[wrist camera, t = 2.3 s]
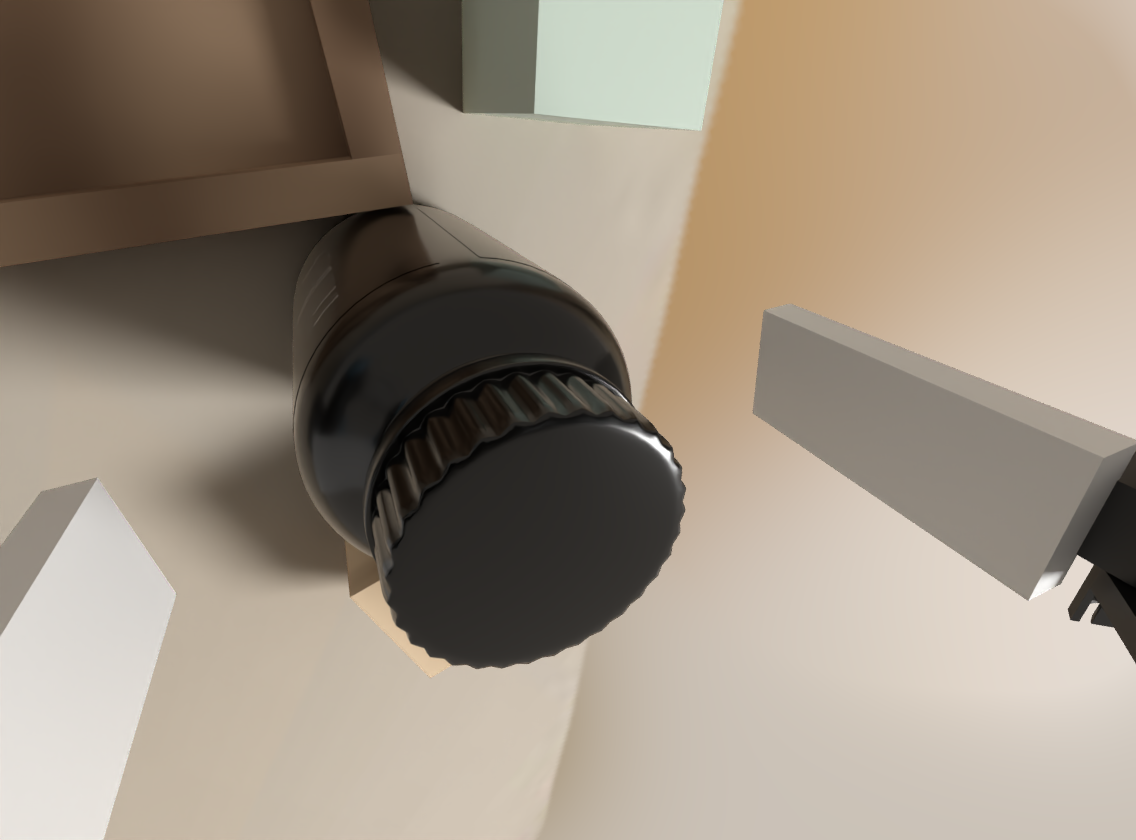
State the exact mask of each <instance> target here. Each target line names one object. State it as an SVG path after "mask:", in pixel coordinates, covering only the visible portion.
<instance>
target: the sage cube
mask: <svg viewBox="0 0 1136 840" xmlns="http://www.w3.org/2000/svg"><path fill="white" fill-rule="evenodd" d="M723 1H724V0H462V79H463V113H469V114H479V115H489V116H499V117H509V118H520V119H530V120H540V121H550V122H560V123H570V124H581V125H593V126H613V127H633V128H653V129H673V130H694V131H701V129H702V124H703V118H704V112H705V106H706V100H707V94H708V89H709V83H710V77H711V71H712V65H713V60H714V54H715V48H716V42H717V36H718V30H719V25H720V19H721V13H722V7H723Z"/></svg>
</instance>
